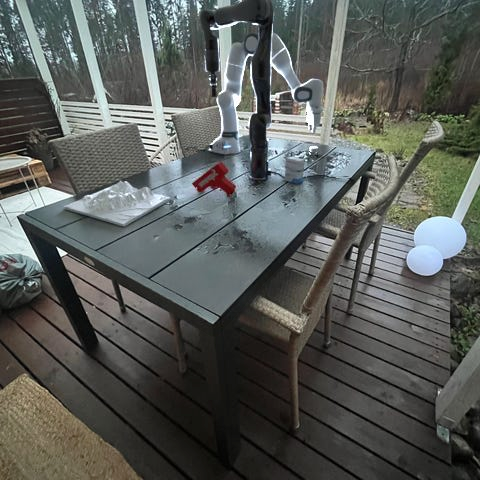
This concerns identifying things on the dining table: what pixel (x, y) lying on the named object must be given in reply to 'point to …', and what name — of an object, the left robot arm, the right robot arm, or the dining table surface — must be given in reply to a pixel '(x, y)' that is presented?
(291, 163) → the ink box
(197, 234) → the dining table surface
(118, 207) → the relief map
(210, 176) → the toy gun
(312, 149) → the block
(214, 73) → the right robot arm
